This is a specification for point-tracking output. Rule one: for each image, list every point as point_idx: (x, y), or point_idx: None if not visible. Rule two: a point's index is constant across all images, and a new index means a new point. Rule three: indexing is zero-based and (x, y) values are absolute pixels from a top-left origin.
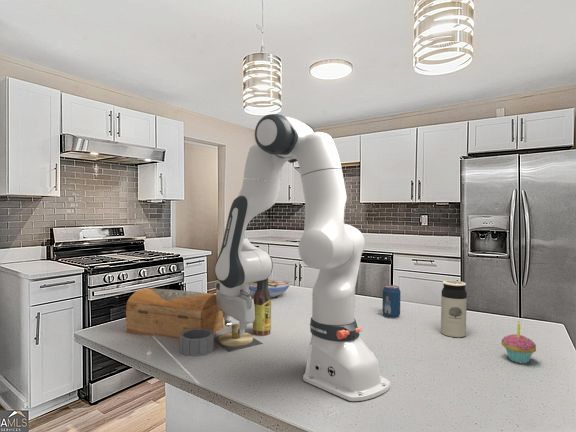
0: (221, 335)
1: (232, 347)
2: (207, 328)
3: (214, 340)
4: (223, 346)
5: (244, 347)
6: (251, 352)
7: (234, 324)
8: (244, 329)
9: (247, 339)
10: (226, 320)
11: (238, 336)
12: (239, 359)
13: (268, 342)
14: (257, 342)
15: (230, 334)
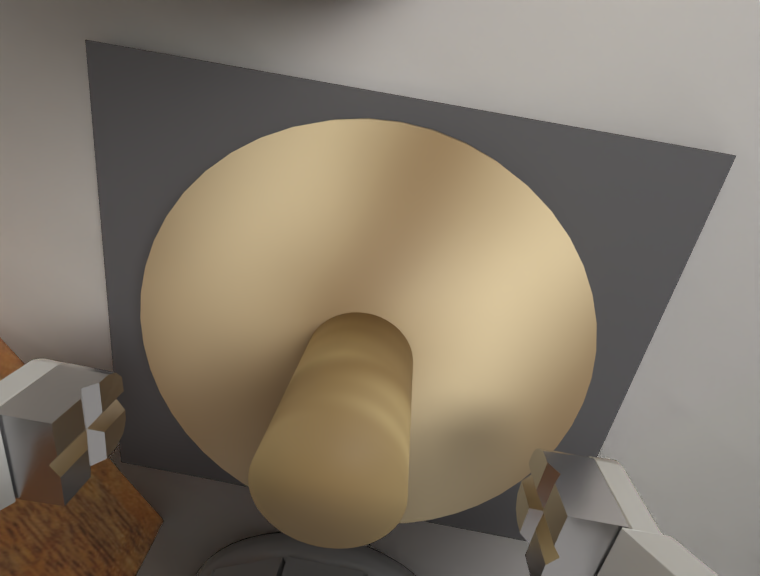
0: (186, 422)
1: None
2: (27, 556)
3: (217, 472)
4: None
5: (610, 403)
6: (742, 405)
7: (270, 482)
8: (650, 535)
9: (534, 304)
10: (6, 485)
11: (411, 374)
12: (742, 557)
13: (741, 14)
14: (636, 190)
15: (216, 337)
